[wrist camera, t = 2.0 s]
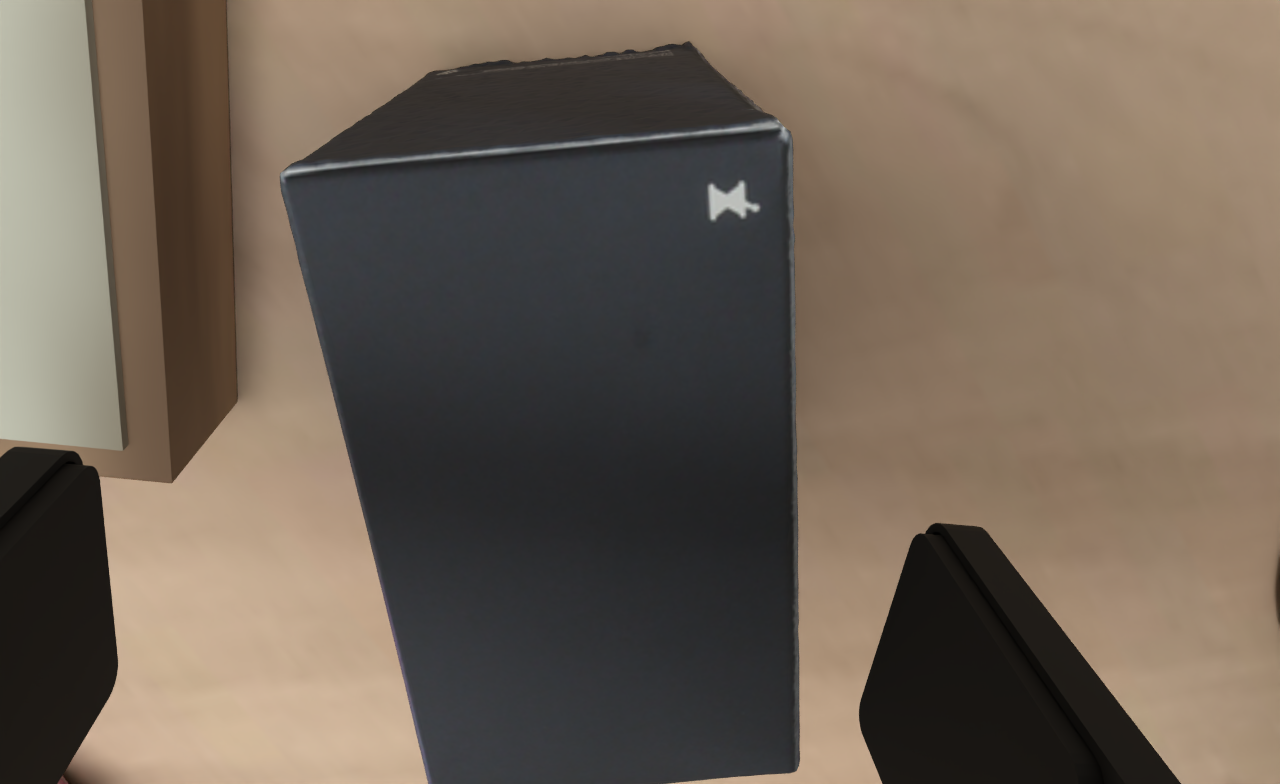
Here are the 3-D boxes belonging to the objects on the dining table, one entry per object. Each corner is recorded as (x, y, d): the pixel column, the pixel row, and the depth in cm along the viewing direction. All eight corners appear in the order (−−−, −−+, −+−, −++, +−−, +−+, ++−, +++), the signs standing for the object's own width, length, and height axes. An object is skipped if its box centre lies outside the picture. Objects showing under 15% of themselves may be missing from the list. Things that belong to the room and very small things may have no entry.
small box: (402, 67, 20) (238, 152, 10) (703, 38, 20) (818, 96, 10) (479, 491, 24) (414, 826, 15) (726, 465, 24) (820, 781, 15)
